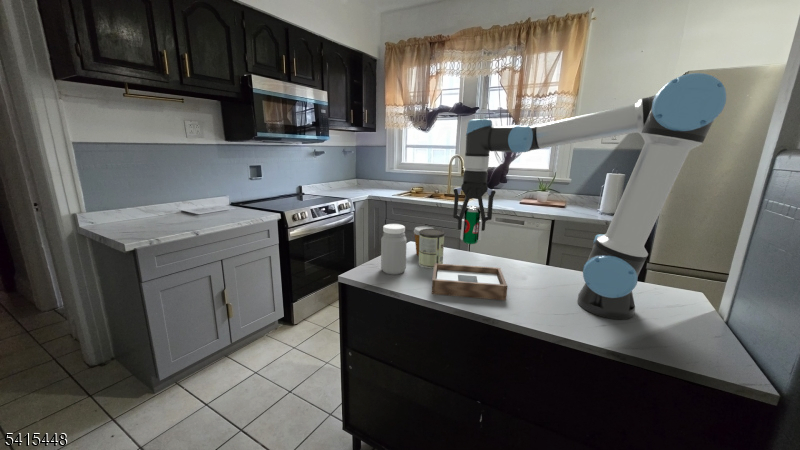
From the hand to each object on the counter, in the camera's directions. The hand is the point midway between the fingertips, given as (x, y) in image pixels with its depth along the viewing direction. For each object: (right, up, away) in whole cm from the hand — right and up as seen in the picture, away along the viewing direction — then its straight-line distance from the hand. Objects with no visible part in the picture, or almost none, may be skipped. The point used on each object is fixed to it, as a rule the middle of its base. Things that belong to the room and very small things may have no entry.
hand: (470, 238), depth 110 cm
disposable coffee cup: (-13, -9, +38) cm, 41 cm away
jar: (-26, -13, +18) cm, 35 cm away
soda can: (0, -1, 0) cm, 1 cm away
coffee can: (-11, -12, +25) cm, 30 cm away
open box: (0, -17, +4) cm, 18 cm away
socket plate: (0, -17, +4) cm, 18 cm away
